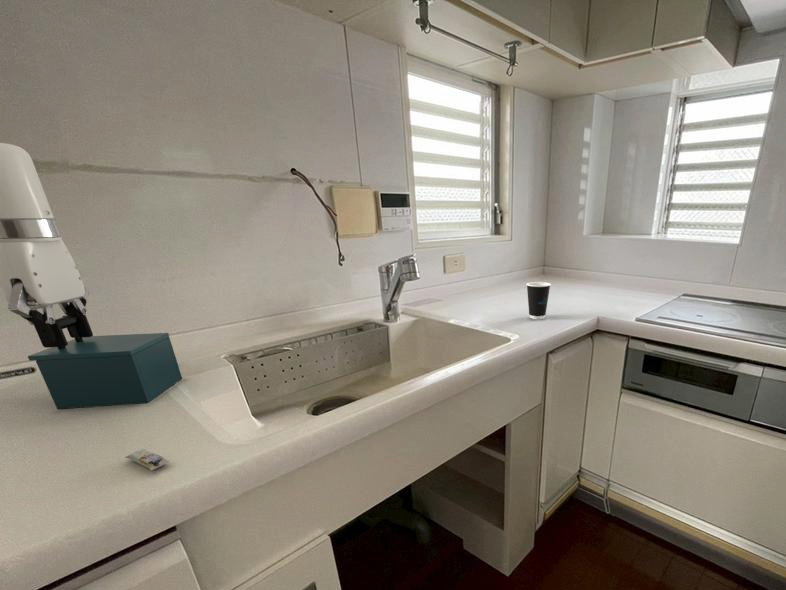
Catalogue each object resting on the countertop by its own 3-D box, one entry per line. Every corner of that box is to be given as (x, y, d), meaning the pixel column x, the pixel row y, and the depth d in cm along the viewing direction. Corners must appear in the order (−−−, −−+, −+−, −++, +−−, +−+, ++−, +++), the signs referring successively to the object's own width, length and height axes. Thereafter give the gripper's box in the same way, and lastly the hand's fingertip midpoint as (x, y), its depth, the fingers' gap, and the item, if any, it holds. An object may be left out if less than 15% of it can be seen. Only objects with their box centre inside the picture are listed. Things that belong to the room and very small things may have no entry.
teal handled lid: (29, 360, 65) (13, 327, 63) (82, 340, 76) (71, 311, 73) (131, 355, 68) (120, 323, 66) (169, 336, 78) (160, 308, 76)
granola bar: (125, 460, 54) (122, 453, 54) (145, 451, 56) (142, 445, 56) (152, 473, 51) (149, 466, 51) (172, 464, 53) (170, 457, 53)
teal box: (57, 409, 68) (35, 360, 65) (104, 383, 79) (87, 340, 76) (148, 402, 71) (131, 355, 68) (182, 378, 81) (169, 336, 78)
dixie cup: (529, 313, 137) (530, 281, 133) (552, 315, 134) (553, 282, 130) (522, 318, 130) (522, 284, 126) (545, 321, 127) (547, 286, 123)
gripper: (42, 229, 71) (81, 330, 77) (-63, 233, 55) (-3, 358, 62) (92, 229, 72) (126, 328, 79) (3, 233, 56) (55, 356, 63)
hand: (69, 340), depth 70 cm, fingers closed on teal handled lid, 5 cm apart
